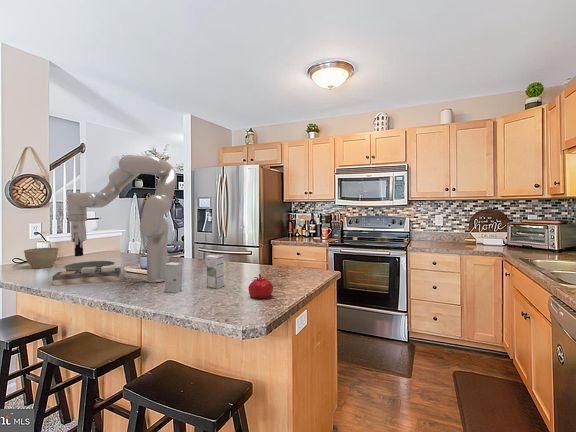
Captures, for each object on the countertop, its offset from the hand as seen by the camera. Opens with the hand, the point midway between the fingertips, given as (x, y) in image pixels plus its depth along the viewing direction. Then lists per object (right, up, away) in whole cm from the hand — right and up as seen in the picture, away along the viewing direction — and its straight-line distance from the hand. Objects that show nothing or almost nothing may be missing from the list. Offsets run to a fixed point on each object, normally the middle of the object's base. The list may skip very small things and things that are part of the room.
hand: (79, 255), depth 152 cm
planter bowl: (-46, -12, +36) cm, 60 cm away
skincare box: (+52, -13, -17) cm, 57 cm away
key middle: (+4, -8, +2) cm, 9 cm away
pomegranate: (+91, -14, -25) cm, 95 cm away
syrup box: (+69, -13, -10) cm, 71 cm away
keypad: (+4, -13, +2) cm, 13 cm away
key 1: (-4, -10, -1) cm, 11 cm away
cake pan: (-9, -12, +23) cm, 27 cm away
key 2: (+11, -8, +5) cm, 15 cm away
